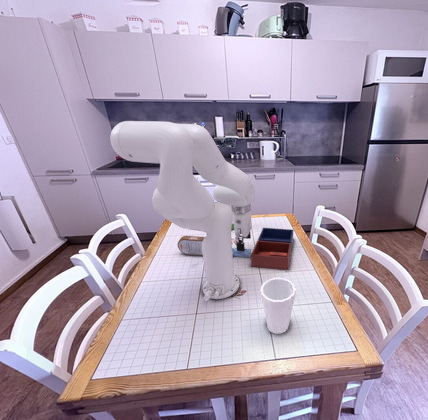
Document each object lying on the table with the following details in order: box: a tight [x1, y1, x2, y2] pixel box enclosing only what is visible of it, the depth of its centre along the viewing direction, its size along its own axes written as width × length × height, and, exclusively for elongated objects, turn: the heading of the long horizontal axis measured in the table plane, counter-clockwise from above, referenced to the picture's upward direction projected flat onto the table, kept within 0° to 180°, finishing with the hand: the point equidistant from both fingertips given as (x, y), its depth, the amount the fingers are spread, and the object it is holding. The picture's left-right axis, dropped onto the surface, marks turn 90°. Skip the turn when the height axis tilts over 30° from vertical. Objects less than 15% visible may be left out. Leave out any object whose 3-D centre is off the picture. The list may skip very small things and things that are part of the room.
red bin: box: [250, 240, 292, 271], centre depth 97 cm, size 11×15×6 cm
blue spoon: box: [232, 247, 252, 258], centre depth 101 cm, size 11×4×3 cm, turn 82°
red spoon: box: [260, 252, 287, 257], centre depth 97 cm, size 11×4×3 cm, turn 82°
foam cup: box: [260, 277, 297, 335], centre depth 66 cm, size 10×9×13 cm
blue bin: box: [257, 227, 294, 251], centre depth 108 cm, size 11×15×6 cm
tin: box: [177, 235, 206, 257], centre depth 100 cm, size 15×3×8 cm, turn 84°
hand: (244, 244), depth 100 cm, fingers open, 9 cm apart
